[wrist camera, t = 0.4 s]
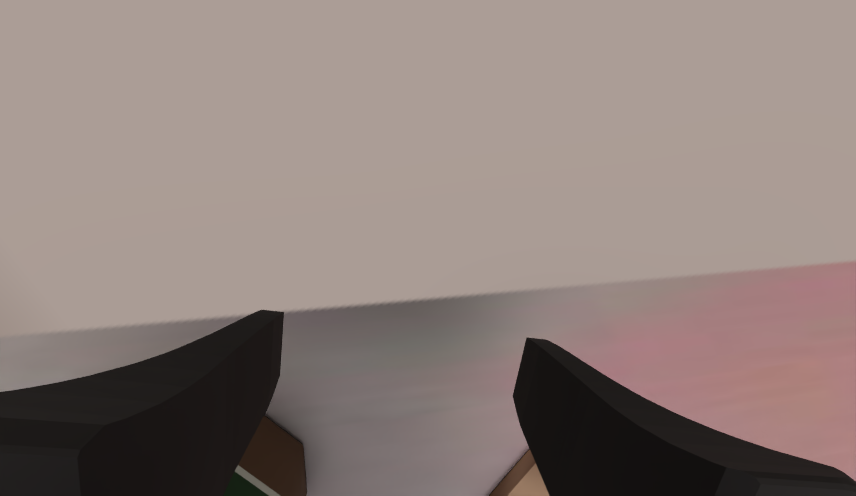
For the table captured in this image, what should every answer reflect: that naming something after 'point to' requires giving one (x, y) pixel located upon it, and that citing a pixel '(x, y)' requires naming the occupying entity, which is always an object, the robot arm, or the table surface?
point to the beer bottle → (270, 465)
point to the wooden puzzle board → (522, 480)
